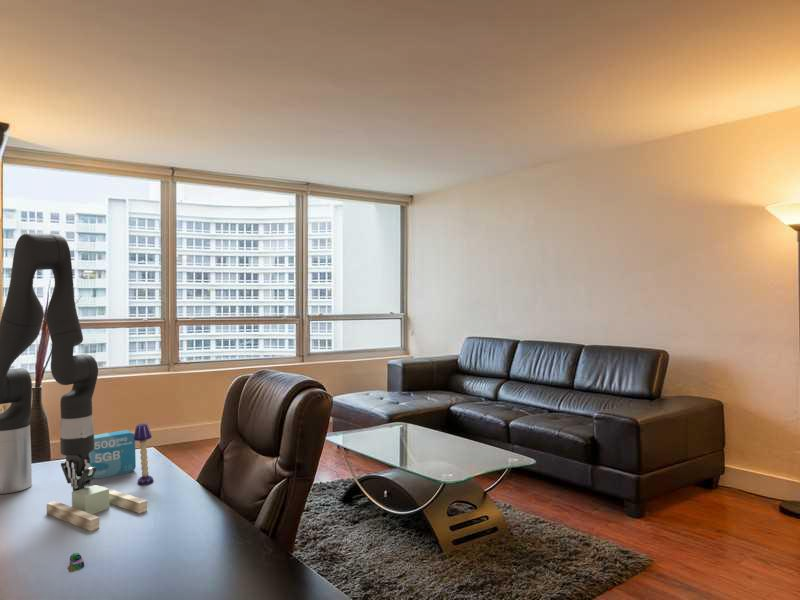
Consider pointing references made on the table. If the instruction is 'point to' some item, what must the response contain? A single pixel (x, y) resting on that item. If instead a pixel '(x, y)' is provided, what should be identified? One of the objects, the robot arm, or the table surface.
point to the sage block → (91, 499)
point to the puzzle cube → (75, 562)
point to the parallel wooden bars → (91, 520)
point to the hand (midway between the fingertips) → (79, 501)
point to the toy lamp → (143, 452)
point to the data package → (113, 454)
